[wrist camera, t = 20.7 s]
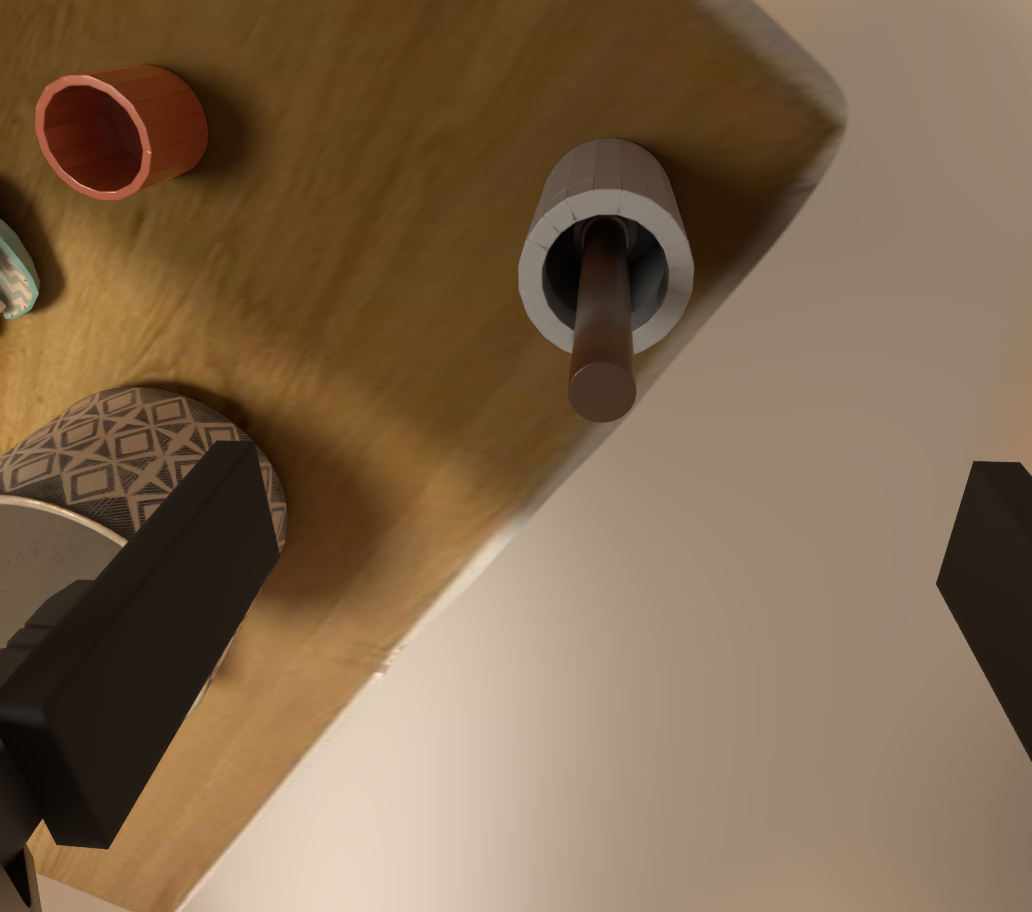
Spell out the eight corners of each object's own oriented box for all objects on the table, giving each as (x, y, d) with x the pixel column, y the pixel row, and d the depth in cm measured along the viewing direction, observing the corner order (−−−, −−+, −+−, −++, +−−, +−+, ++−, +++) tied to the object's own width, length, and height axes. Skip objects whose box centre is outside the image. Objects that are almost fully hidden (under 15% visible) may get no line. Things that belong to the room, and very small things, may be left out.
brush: (637, 180, 46) (662, 342, 25) (634, 242, 48) (654, 443, 26) (575, 180, 46) (546, 339, 25) (575, 241, 48) (546, 440, 27)
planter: (352, 500, 60) (273, 655, 46) (207, 618, 68) (101, 781, 54) (145, 317, 54) (-18, 430, 40) (12, 469, 62) (-164, 609, 48)
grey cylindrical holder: (677, 137, 45) (701, 188, 33) (667, 271, 49) (685, 361, 37) (540, 138, 46) (516, 189, 34) (541, 270, 50) (520, 358, 38)
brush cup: (195, 63, 46) (133, 74, 40) (218, 175, 49) (163, 200, 43) (95, 65, 47) (18, 75, 41) (123, 175, 50) (56, 200, 44)
